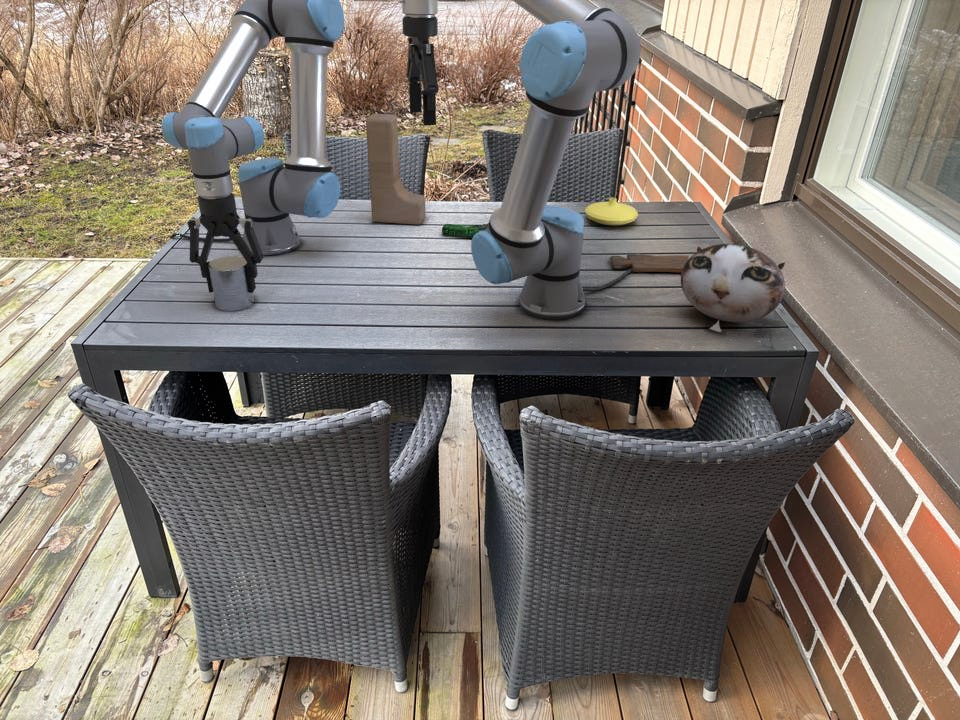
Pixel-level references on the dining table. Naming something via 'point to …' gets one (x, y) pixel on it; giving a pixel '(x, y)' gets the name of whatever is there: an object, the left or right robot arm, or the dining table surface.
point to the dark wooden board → (650, 263)
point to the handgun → (463, 230)
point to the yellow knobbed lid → (611, 213)
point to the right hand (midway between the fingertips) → (422, 118)
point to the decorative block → (389, 175)
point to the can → (230, 283)
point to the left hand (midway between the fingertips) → (232, 290)
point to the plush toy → (732, 283)
